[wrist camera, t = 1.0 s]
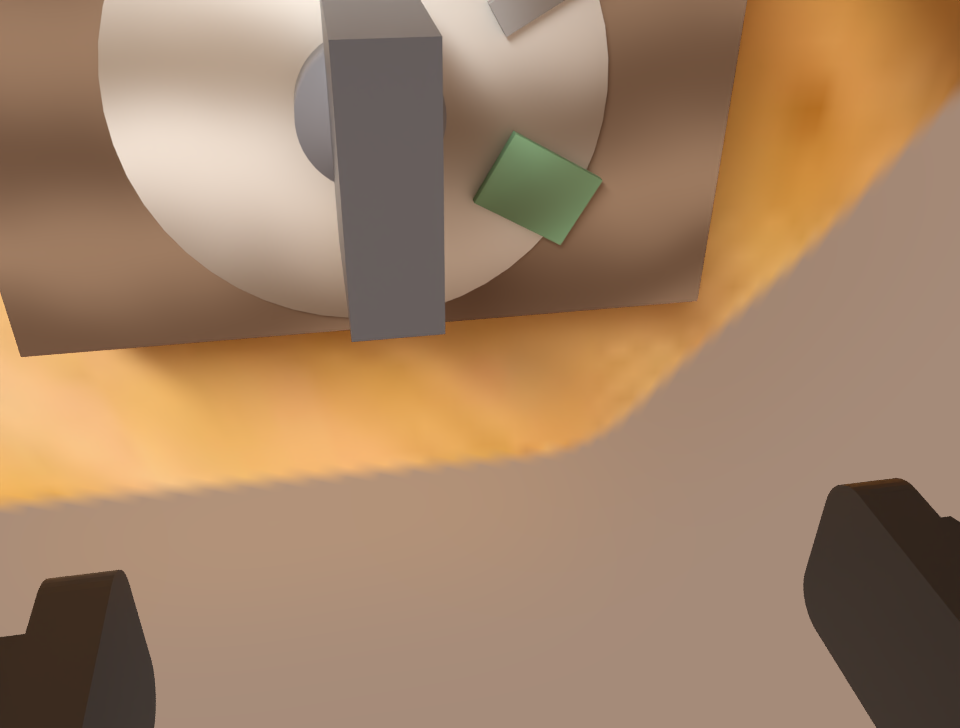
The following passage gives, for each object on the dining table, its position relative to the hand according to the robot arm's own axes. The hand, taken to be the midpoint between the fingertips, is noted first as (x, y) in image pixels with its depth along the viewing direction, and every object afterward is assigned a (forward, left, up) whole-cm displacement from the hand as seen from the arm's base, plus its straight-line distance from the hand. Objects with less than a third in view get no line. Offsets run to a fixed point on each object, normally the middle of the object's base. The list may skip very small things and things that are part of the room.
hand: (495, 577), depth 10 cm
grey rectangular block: (+2, 0, -18) cm, 18 cm away
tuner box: (0, 0, -23) cm, 23 cm away
